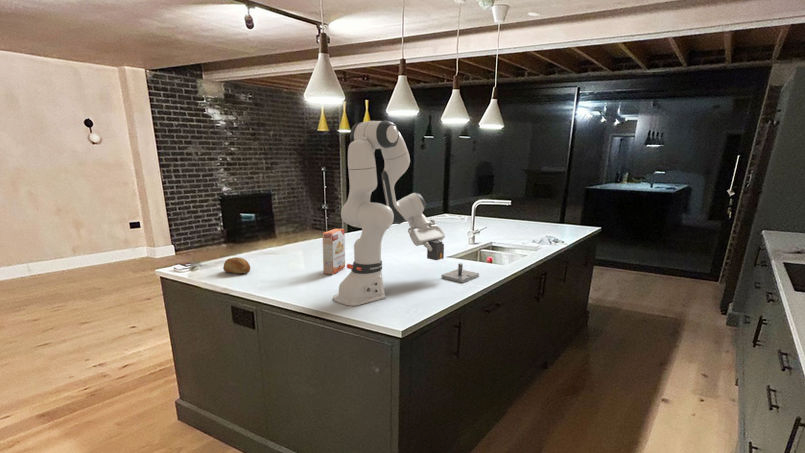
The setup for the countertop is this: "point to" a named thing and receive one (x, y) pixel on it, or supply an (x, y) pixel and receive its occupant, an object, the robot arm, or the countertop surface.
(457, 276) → the hub plate
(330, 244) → the cracker box
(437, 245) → the dark grey block
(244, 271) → the bread roll
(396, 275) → the countertop surface
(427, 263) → the countertop surface
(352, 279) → the robot arm
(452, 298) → the countertop surface
